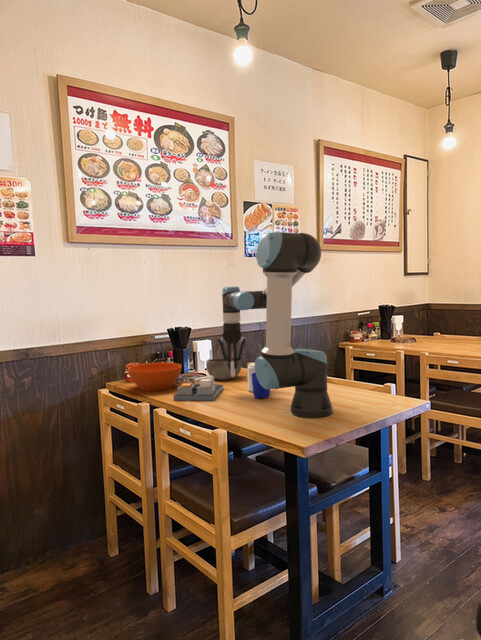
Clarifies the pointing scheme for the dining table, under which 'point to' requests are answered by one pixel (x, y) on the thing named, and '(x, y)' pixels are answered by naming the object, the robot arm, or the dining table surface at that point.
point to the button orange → (186, 385)
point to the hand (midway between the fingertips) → (233, 375)
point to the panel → (198, 393)
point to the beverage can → (250, 376)
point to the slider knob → (211, 380)
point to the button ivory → (205, 383)
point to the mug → (259, 388)
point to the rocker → (201, 378)
